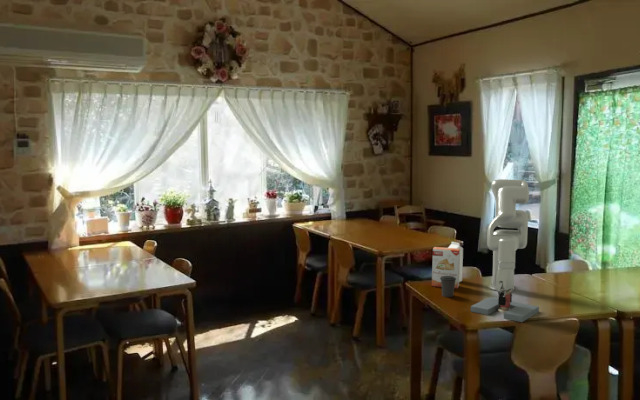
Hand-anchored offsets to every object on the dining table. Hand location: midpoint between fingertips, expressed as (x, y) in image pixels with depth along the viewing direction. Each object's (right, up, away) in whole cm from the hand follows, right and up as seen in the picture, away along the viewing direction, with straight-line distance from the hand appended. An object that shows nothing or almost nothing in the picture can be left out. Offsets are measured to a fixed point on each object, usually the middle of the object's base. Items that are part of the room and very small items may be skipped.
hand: (504, 303), depth 262 cm
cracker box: (-17, +1, +46) cm, 49 cm away
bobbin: (0, -4, +1) cm, 4 cm away
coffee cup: (-20, -1, +27) cm, 34 cm away
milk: (-10, +2, +58) cm, 58 cm away
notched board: (0, -4, 0) cm, 4 cm away
